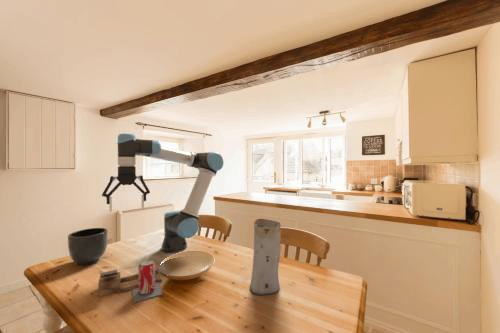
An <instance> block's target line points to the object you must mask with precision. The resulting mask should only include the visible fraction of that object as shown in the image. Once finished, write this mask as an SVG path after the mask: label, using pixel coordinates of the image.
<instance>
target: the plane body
mask: <svg viewBox="0 0 500 333" xmlns="http://www.w3.org/2000/svg"><path fill="white" fill-rule="evenodd" d="M118 272H119V274H118V275H114V276H110V277H105V278H100V277H99V278H98V282H97V283H98V284H97V285H98V287H97V288H98V289H97V290H98V291H97V292H98V293H97V294H98V297H101V296H106V295H109V294H112V293H116V292H120V293H123V292H128V291H133V289H135V288H138V287H139V282H138V283H134V284H131V285H126V286H122V287H121V283H122V282H126V281H131V280H135V279H138V273H136V274H132V275H128V276H123V277H121V271H118ZM159 273H160V270H159V269H155V275H156V274H159ZM162 280H163V279H162V277H159V278H155V283H162Z"/></svg>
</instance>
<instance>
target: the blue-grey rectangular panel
mask: <svg viewBox="0 0 500 333" xmlns="http://www.w3.org/2000/svg"><path fill="white" fill-rule="evenodd" d="M119 272H120V271H118V269H113V270H109V271H104V272H100V273H99V278H105V277H110V276H114V275H118V274H119Z"/></svg>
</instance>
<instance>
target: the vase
mask: <svg viewBox="0 0 500 333" xmlns="http://www.w3.org/2000/svg"><path fill="white" fill-rule="evenodd" d="M281 228H282V227H281V222H280V221H276V220H272V219H267V218H258V219H256V220H254V222H253V258H252V260H253V261H252V270H251V271H252V272H251V278H250V285H249V290H250V291H251V292H252V295H257V296H265V295H273V294H276V293H278V292H280V288H281V287H280V280H279V266H280V265H279V264H280V259H281V258H280V256H281V236H282V234H281Z"/></svg>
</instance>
